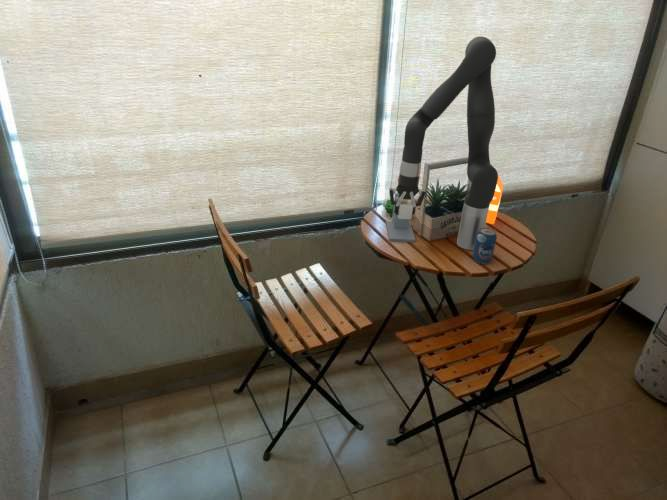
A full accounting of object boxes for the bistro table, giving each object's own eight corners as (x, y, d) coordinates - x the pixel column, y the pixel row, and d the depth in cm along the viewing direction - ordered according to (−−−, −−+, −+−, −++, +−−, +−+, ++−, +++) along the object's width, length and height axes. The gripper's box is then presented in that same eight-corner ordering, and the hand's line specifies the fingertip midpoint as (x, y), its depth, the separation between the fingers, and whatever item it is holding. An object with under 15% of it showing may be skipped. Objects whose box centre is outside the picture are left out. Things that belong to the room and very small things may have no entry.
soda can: (477, 265, 183) (484, 236, 177) (468, 256, 189) (474, 227, 183) (494, 264, 185) (501, 234, 179) (485, 255, 191) (491, 226, 185)
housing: (409, 214, 197) (411, 196, 194) (411, 219, 192) (413, 201, 189) (396, 213, 197) (398, 196, 193) (398, 218, 192) (400, 201, 189)
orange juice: (475, 220, 218) (484, 176, 209) (478, 213, 225) (487, 170, 216) (494, 224, 216) (504, 180, 206) (496, 216, 223) (506, 173, 213)
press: (409, 224, 211) (413, 193, 204) (414, 242, 197) (419, 209, 190) (385, 223, 211) (389, 192, 204) (389, 241, 197) (393, 208, 190)
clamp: (388, 225, 220) (380, 208, 215) (390, 216, 224) (383, 200, 219) (414, 220, 214) (407, 203, 210) (416, 212, 219) (409, 195, 214)
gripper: (427, 170, 190) (421, 211, 198) (389, 168, 189) (384, 209, 197) (430, 177, 183) (424, 219, 191) (391, 175, 183) (386, 217, 191)
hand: (404, 214), depth 194 cm, fingers closed on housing, 5 cm apart
